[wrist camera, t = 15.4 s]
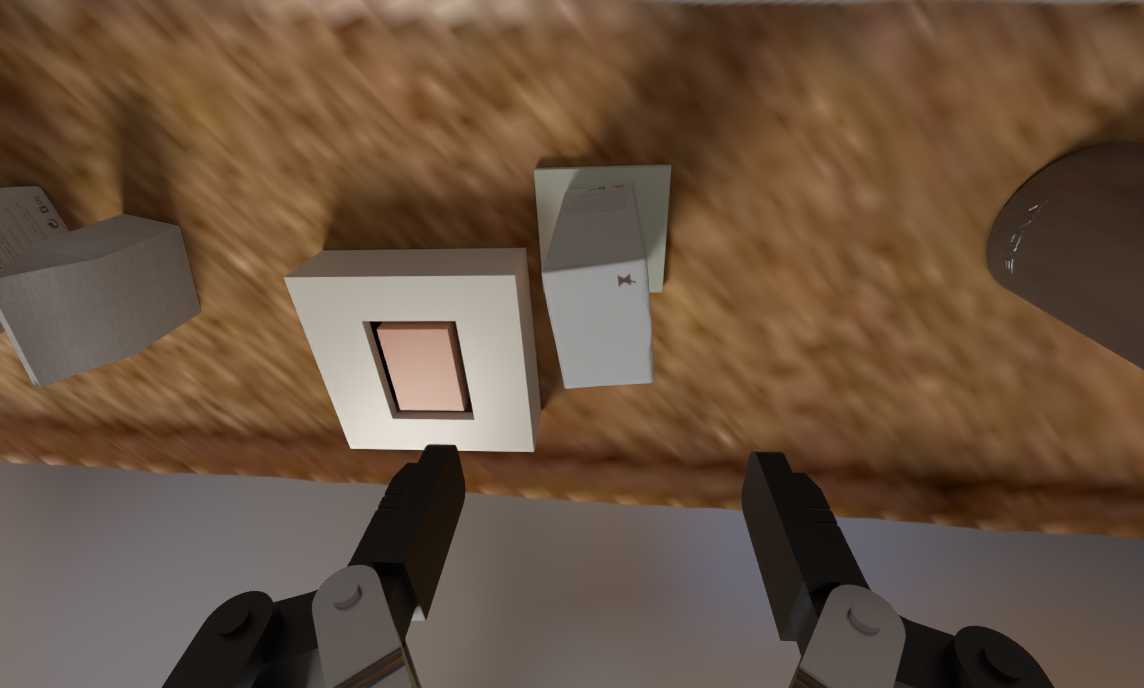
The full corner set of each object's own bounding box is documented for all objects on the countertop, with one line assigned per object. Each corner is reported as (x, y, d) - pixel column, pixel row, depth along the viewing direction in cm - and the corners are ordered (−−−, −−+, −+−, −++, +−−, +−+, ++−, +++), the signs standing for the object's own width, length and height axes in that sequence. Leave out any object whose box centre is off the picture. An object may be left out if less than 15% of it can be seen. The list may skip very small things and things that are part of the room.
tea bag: (179, 225, 31) (23, 289, 23) (201, 311, 35) (73, 394, 27) (123, 213, 31) (-56, 273, 23) (151, 301, 35) (5, 381, 26)
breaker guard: (526, 247, 31) (514, 275, 27) (541, 411, 38) (534, 451, 34) (322, 250, 32) (283, 277, 28) (375, 409, 39) (350, 448, 35)
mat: (670, 164, 27) (671, 166, 27) (661, 288, 32) (662, 292, 31) (535, 167, 28) (534, 170, 28) (544, 289, 32) (543, 292, 32)
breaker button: (462, 302, 33) (447, 329, 29) (476, 378, 36) (464, 410, 33) (399, 302, 33) (376, 329, 30) (418, 378, 36) (400, 410, 33)
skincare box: (562, 189, 28) (537, 267, 18) (633, 180, 27) (650, 254, 17) (576, 282, 31) (562, 392, 21) (641, 274, 31) (658, 385, 20)
